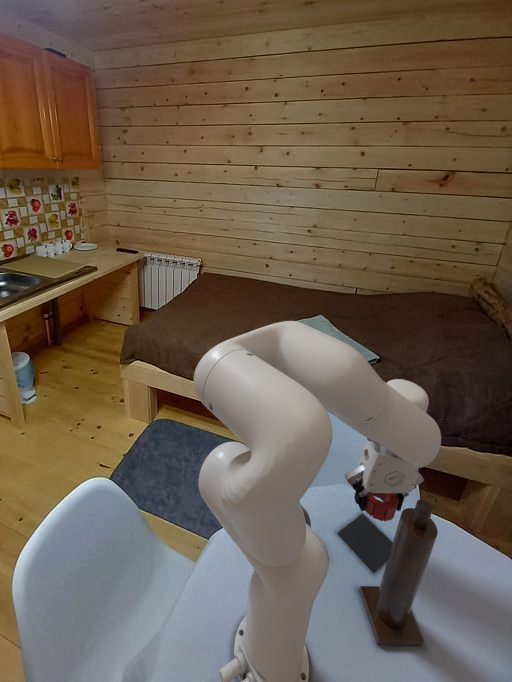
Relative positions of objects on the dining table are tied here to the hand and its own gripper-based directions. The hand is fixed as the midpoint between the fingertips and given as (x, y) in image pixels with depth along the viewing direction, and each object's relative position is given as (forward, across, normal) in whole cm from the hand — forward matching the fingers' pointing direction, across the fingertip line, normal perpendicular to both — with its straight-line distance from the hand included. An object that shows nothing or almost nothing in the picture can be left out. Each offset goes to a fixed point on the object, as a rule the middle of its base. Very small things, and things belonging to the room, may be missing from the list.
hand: (377, 503), depth 73 cm
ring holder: (+11, -2, -14) cm, 18 cm away
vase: (+12, -17, +1) cm, 20 cm away
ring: (0, 0, 0) cm, 0 cm away
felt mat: (+11, 0, 0) cm, 11 cm away
